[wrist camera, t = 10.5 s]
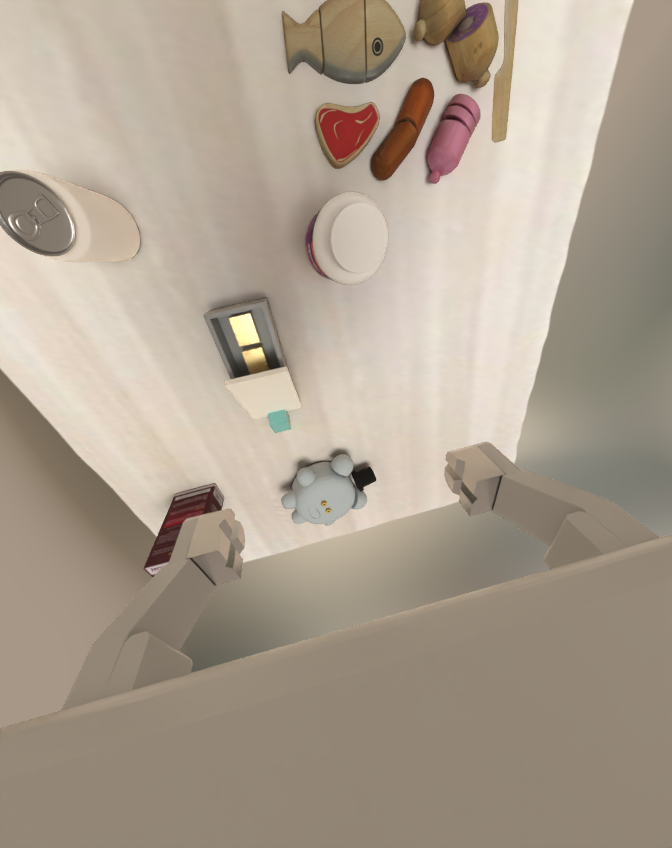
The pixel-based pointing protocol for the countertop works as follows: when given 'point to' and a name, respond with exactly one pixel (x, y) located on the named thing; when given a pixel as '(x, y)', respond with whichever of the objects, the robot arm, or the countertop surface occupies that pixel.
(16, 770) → the robot arm
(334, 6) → the toy food set
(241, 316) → the brass block
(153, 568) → the supplement box
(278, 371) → the lid
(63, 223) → the can
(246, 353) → the brass block
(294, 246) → the countertop surface
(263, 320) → the tub
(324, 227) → the pill bottle
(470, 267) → the countertop surface
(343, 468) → the figurine
